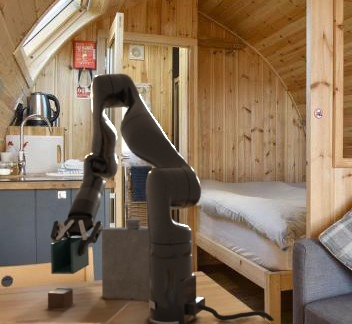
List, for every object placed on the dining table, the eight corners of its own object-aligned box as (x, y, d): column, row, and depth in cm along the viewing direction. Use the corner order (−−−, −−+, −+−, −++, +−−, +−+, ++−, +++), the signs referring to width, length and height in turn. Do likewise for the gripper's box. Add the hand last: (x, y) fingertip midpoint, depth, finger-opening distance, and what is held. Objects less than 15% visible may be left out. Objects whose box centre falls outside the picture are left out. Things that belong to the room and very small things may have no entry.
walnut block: (57, 287, 111) (47, 292, 108) (72, 288, 111) (63, 293, 107) (57, 304, 112) (47, 309, 108) (73, 305, 111) (63, 310, 107)
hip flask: (100, 298, 116) (99, 219, 116) (107, 294, 120) (107, 217, 120) (160, 301, 113) (160, 220, 113) (166, 296, 117) (165, 218, 117)
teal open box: (68, 264, 132) (67, 237, 132) (88, 264, 131) (88, 236, 131) (51, 273, 122) (50, 243, 122) (73, 273, 122) (72, 243, 121)
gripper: (57, 197, 134) (36, 246, 123) (106, 197, 134) (89, 246, 122) (66, 213, 140) (47, 261, 128) (112, 213, 139) (97, 262, 127)
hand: (67, 254), depth 125 cm, fingers closed on teal open box, 6 cm apart
